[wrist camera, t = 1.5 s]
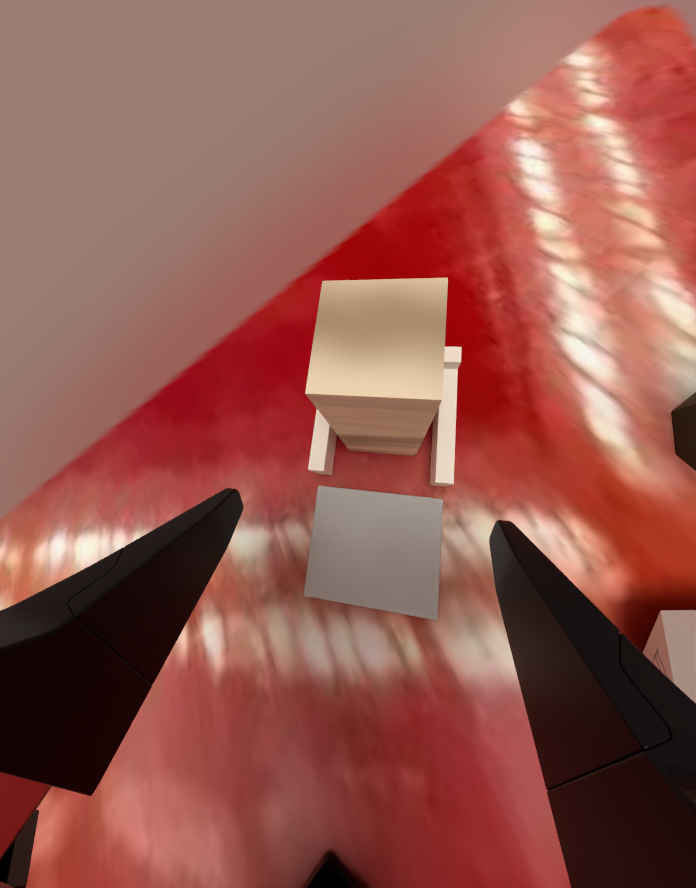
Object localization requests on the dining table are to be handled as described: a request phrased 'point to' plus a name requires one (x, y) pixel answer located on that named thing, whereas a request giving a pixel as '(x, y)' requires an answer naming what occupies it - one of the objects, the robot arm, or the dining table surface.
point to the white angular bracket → (441, 432)
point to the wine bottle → (685, 430)
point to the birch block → (379, 361)
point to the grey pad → (376, 551)
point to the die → (675, 648)
